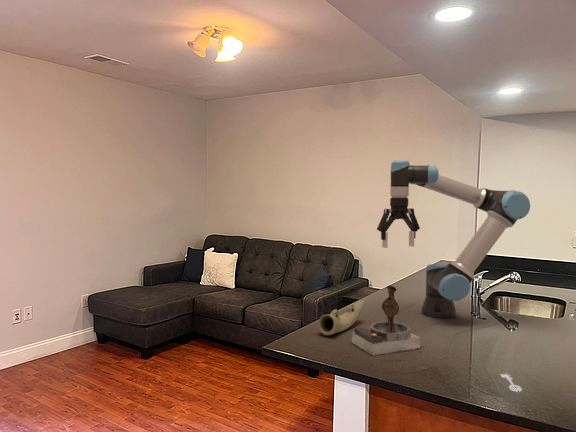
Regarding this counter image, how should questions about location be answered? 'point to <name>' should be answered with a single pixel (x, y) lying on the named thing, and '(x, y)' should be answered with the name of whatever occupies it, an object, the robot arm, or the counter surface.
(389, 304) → the figurine
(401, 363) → the counter surface
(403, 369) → the counter surface
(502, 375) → the key
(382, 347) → the white flat device
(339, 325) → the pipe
